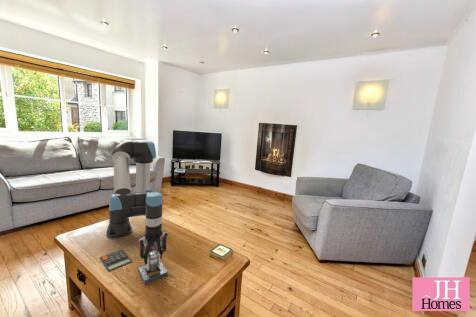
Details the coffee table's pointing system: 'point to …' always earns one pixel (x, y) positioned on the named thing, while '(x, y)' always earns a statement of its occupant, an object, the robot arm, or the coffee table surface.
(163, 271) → the bore plate
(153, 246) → the brake caliper
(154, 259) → the piston
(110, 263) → the calculator
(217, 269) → the coffee table surface
